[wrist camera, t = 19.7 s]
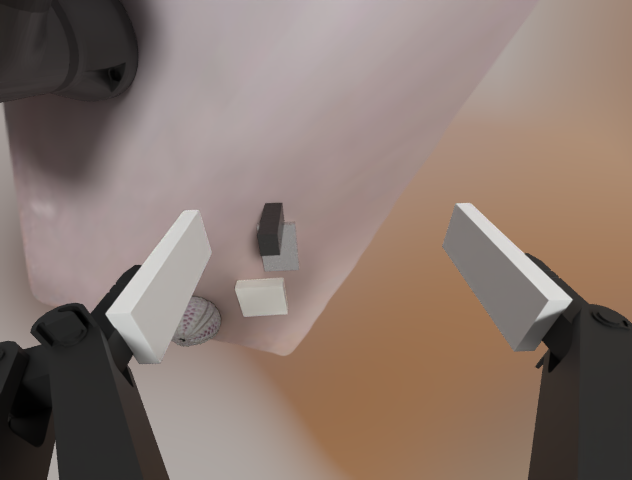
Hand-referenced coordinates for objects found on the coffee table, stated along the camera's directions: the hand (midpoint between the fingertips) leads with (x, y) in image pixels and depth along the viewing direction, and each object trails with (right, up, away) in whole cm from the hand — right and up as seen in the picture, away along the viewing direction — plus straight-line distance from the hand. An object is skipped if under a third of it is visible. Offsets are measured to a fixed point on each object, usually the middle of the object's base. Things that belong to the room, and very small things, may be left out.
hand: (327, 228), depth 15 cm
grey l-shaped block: (-8, 0, +39) cm, 39 cm away
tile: (-13, -10, +44) cm, 46 cm away
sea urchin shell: (-29, -17, +50) cm, 60 cm away
